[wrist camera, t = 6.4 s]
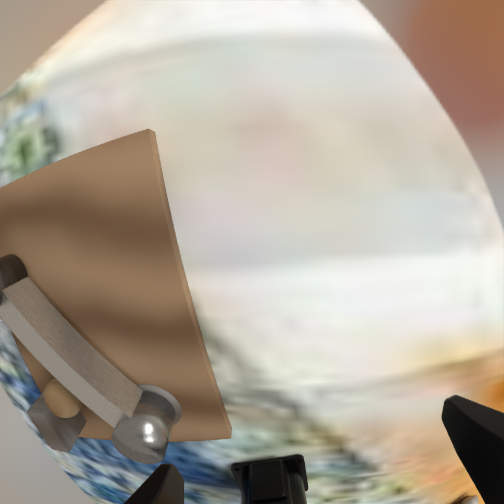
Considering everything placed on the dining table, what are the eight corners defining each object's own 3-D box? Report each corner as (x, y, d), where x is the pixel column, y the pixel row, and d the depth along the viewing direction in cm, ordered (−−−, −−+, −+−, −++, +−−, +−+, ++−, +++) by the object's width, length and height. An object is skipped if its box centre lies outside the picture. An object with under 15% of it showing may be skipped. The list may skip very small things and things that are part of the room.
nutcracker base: (231, 428, 22) (229, 477, 16) (71, 427, 22) (49, 462, 17) (154, 131, 17) (121, 115, 12) (-17, 201, 17) (-61, 209, 12)
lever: (185, 413, 19) (174, 458, 15) (157, 432, 20) (143, 474, 16) (11, 242, 16) (-31, 257, 12) (-4, 275, 17) (-43, 294, 13)
